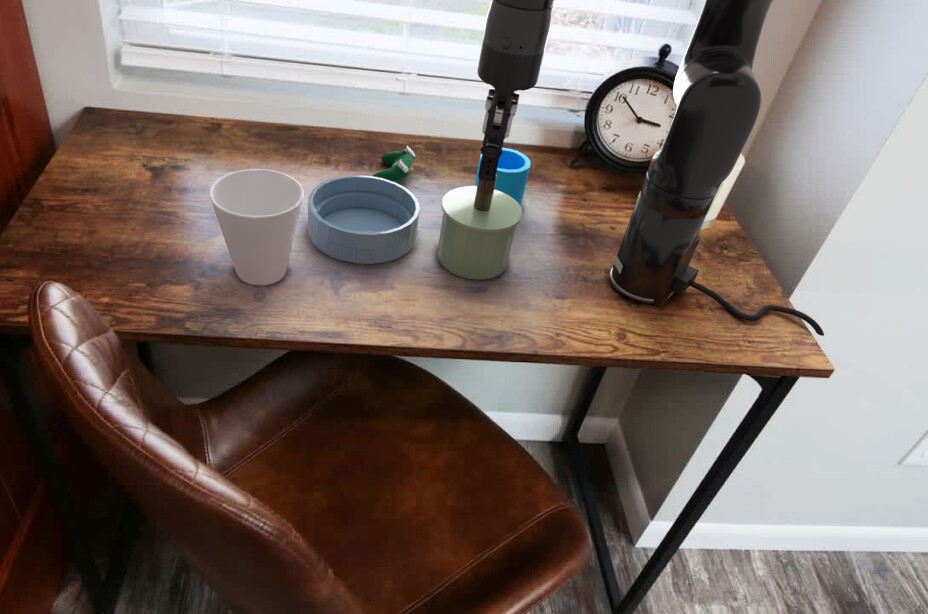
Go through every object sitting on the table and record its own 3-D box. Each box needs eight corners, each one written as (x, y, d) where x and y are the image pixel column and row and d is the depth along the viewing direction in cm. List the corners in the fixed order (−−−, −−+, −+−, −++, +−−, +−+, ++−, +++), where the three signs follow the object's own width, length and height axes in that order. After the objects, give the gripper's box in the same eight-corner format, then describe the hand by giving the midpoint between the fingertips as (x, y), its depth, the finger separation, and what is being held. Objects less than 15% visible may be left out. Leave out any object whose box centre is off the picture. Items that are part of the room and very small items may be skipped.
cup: (210, 251, 99) (202, 172, 91) (293, 241, 103) (292, 164, 95) (224, 303, 91) (216, 221, 83) (314, 290, 95) (314, 211, 87)
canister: (509, 246, 108) (520, 198, 103) (503, 285, 100) (514, 236, 95) (443, 233, 109) (450, 185, 103) (432, 271, 101) (439, 221, 96)
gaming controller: (382, 197, 118) (409, 179, 115) (368, 179, 117) (395, 161, 114) (394, 171, 125) (420, 154, 122) (381, 155, 124) (407, 137, 120)
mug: (523, 219, 114) (533, 174, 109) (473, 215, 114) (481, 169, 108) (515, 182, 123) (525, 139, 118) (469, 178, 123) (476, 134, 117)
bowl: (437, 238, 108) (441, 207, 104) (363, 280, 98) (365, 248, 94) (361, 195, 115) (362, 164, 111) (285, 231, 105) (284, 199, 101)
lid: (523, 201, 103) (532, 163, 99) (517, 242, 95) (526, 203, 91) (447, 186, 104) (453, 148, 100) (434, 226, 96) (440, 187, 92)
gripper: (542, 67, 78) (512, 195, 89) (548, 27, 89) (521, 146, 99) (476, 55, 78) (454, 184, 89) (489, 17, 89) (469, 136, 100)
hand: (489, 164), depth 94 cm, fingers open, 8 cm apart
